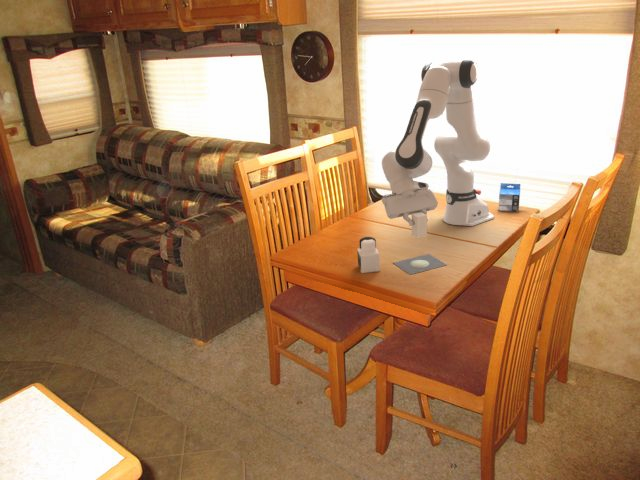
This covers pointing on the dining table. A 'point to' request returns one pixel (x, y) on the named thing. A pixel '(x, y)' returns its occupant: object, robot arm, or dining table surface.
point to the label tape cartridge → (509, 197)
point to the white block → (419, 225)
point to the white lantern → (368, 255)
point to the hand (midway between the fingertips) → (419, 223)
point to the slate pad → (419, 264)
